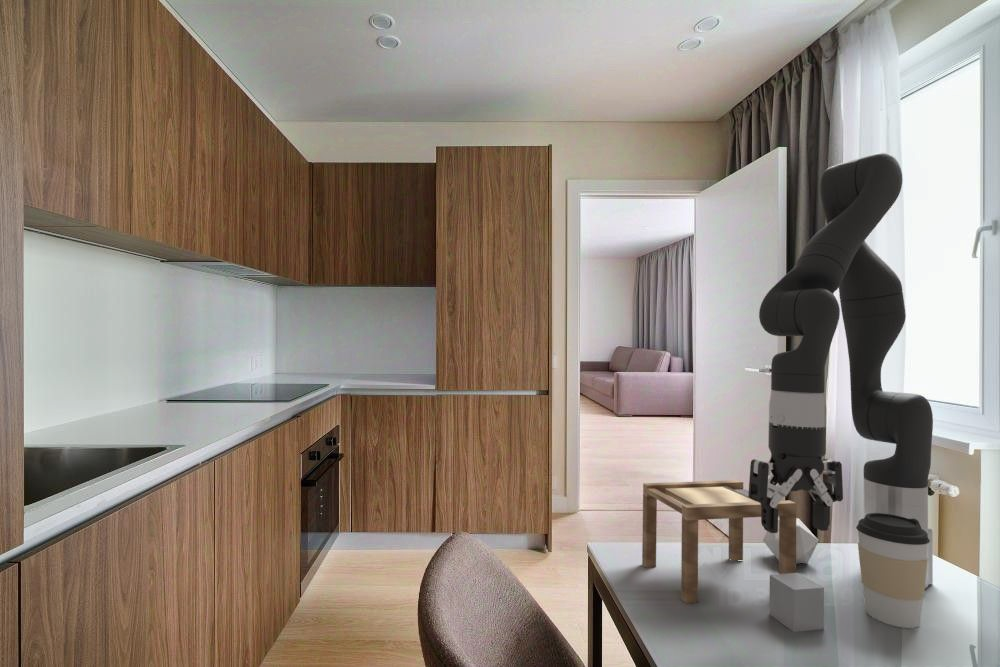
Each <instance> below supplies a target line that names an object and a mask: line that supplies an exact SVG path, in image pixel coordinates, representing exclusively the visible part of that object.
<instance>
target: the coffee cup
mask: <svg viewBox="0 0 1000 667" xmlns="http://www.w3.org/2000/svg"><path fill="white" fill-rule="evenodd" d="M855 529H856V530H857V534H858V543H857V550H858V556H859V557H858V560H859V568H860V569H859V570H860V578H861V583H862V588H863V591H862V592H863V599H864V611H865V612H866V614H867V615H868V616H870V617H871V616H872V618H873V617H874V618H873V619H875V618H876V619H877V621H879V620H880V621H879V622H881V621H882V622H881V623H884V624H886V625H889V626H893V627H897V628H902V629H916V628H918V627H920V626H921V620H922V610H923V600H924V598H925V589H926V588H925V581H926V572H927V563H928V557H927V548H928V543H929V542H930V540H929V538H928V534H927V532H926V531H924V530H923V529H922V528H921V526H920V523H919V521H918V520H917V519H914V518H912V519H908V518H905V517H901V516H896V515H891V514H884V513H869V514H867V515H866V516H865V517H864V516H863V518H861V519H860V520H858V524H857V525H856V526H855ZM876 619H875V620H876Z"/></svg>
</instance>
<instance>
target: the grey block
mask: <svg viewBox="0 0 1000 667" xmlns="http://www.w3.org/2000/svg"><path fill="white" fill-rule="evenodd" d="M769 615H770V616H771V615H772V616H771V617H772V618H774V619H776V620H777V621H778V622H779V623H781V624H782V625H784V626H785V627H787V629H790V631H792V632H794V633H796V632H805V631H816V630H825V587H824V586H822V585H820V584H819V583H817V582H816V581H813V580H811V579H810V578H808V577H806V576H805V575H803V574H802V573H799V572H796V573H787V574H779V573H777V574H769Z"/></svg>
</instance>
